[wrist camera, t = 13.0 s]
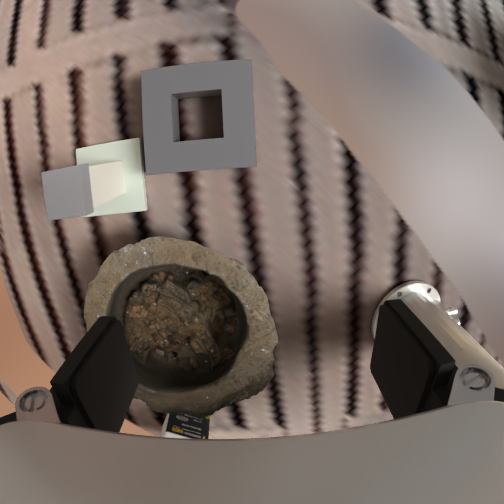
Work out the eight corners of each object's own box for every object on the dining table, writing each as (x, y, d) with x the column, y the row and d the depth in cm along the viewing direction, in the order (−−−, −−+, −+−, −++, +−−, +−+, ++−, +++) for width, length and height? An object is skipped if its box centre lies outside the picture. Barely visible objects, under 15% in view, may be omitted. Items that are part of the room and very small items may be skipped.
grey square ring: (250, 68, 32) (251, 59, 28) (254, 164, 36) (256, 166, 32) (150, 78, 32) (141, 71, 28) (155, 172, 36) (146, 175, 32)
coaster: (141, 137, 34) (139, 137, 33) (147, 209, 37) (145, 210, 36) (78, 148, 34) (75, 149, 33) (86, 215, 37) (83, 217, 36)
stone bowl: (182, 400, 48) (171, 440, 39) (77, 290, 42) (45, 316, 33) (308, 329, 43) (319, 367, 34) (195, 185, 38) (177, 191, 29)
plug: (124, 157, 34) (80, 164, 23) (128, 194, 36) (86, 215, 25) (92, 162, 34) (41, 172, 23) (95, 198, 36) (47, 220, 25)
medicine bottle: (210, 413, 49) (207, 468, 38) (199, 434, 51) (194, 485, 40) (171, 402, 48) (160, 456, 37) (163, 424, 50) (152, 474, 39)
